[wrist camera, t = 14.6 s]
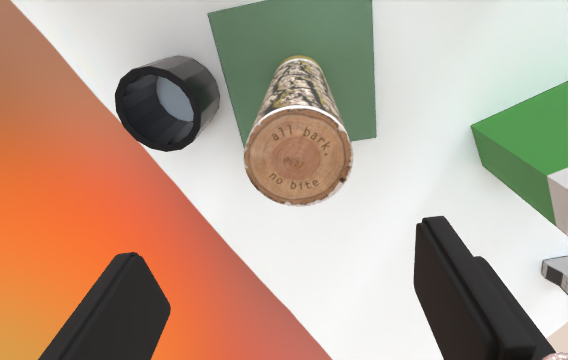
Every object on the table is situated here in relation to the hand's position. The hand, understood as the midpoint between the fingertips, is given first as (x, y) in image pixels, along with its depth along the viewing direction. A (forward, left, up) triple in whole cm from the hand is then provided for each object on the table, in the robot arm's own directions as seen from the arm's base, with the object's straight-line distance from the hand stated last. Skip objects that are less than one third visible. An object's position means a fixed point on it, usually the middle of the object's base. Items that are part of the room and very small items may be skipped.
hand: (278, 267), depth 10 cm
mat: (+1, +1, -35) cm, 35 cm away
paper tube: (+1, +1, -34) cm, 34 cm away
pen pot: (0, -16, -35) cm, 38 cm away
